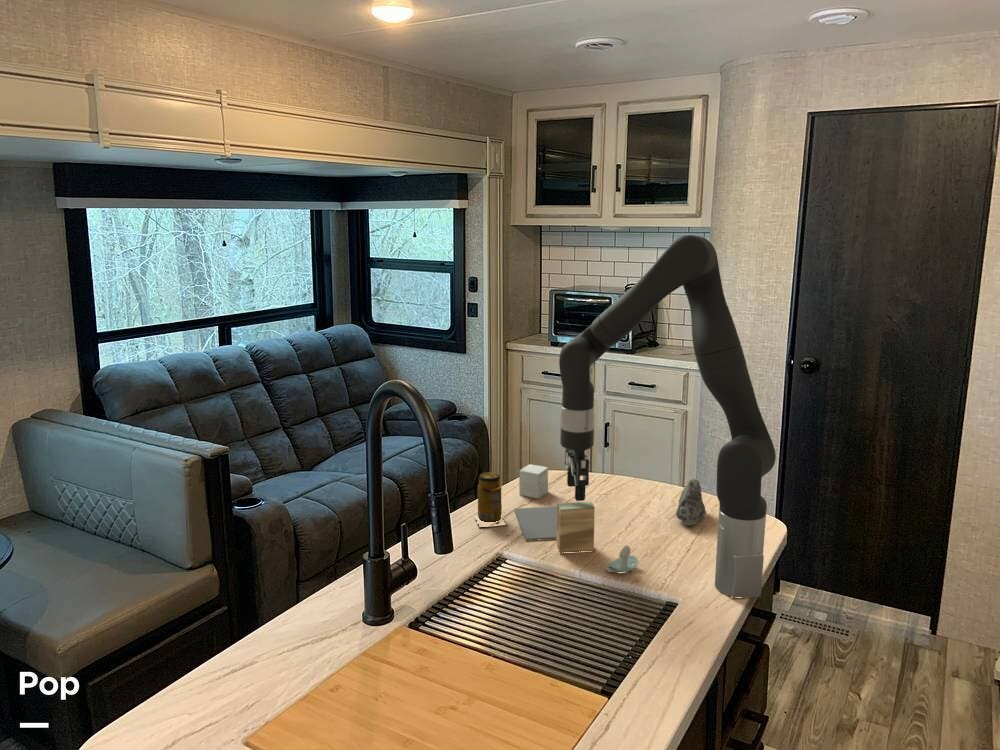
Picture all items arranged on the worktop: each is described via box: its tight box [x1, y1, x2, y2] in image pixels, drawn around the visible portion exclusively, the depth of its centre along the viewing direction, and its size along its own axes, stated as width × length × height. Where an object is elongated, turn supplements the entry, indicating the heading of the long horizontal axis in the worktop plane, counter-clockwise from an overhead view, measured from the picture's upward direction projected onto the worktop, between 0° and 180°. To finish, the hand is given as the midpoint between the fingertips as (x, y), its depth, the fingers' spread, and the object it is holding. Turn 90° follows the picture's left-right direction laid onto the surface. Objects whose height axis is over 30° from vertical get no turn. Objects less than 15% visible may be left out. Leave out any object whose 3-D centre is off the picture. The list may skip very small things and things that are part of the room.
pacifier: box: [605, 544, 639, 574], centre depth 169 cm, size 7×6×6 cm
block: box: [556, 501, 595, 554], centre depth 178 cm, size 4×8×11 cm, turn 97°
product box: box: [518, 463, 549, 499], centre depth 211 cm, size 6×6×7 cm
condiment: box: [477, 471, 503, 522], centre depth 194 cm, size 7×8×12 cm
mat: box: [513, 505, 557, 541], centre depth 193 cm, size 18×16×1 cm
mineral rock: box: [675, 478, 707, 526], centre depth 194 cm, size 13×11×10 cm
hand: (575, 492), depth 176 cm, fingers open, 8 cm apart
